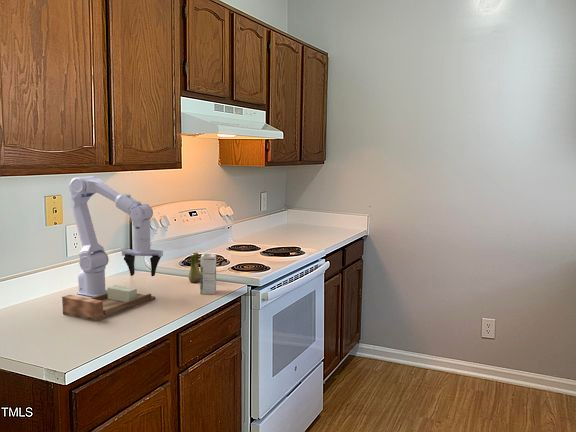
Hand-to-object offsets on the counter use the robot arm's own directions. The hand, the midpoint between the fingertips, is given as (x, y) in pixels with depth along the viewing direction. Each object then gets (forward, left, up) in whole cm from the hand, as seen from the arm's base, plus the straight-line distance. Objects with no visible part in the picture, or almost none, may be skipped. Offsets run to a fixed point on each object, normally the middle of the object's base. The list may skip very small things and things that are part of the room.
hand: (142, 275), depth 195 cm
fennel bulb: (+2, +29, -9) cm, 30 cm away
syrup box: (+16, +19, -9) cm, 26 cm away
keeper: (-3, -7, -8) cm, 11 cm away
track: (-3, -12, -9) cm, 16 cm away
